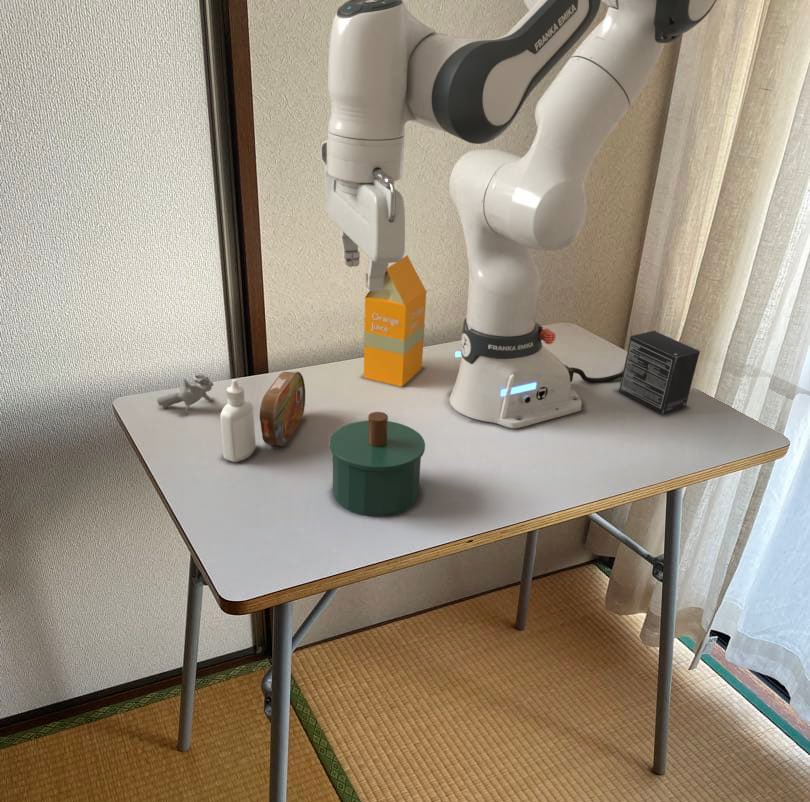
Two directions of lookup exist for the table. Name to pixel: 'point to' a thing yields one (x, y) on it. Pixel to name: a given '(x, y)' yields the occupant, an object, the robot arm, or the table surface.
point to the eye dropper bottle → (237, 425)
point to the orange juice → (395, 326)
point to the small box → (658, 371)
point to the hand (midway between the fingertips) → (362, 276)
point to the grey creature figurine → (188, 392)
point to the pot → (375, 488)
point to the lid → (377, 444)
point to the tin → (282, 408)
